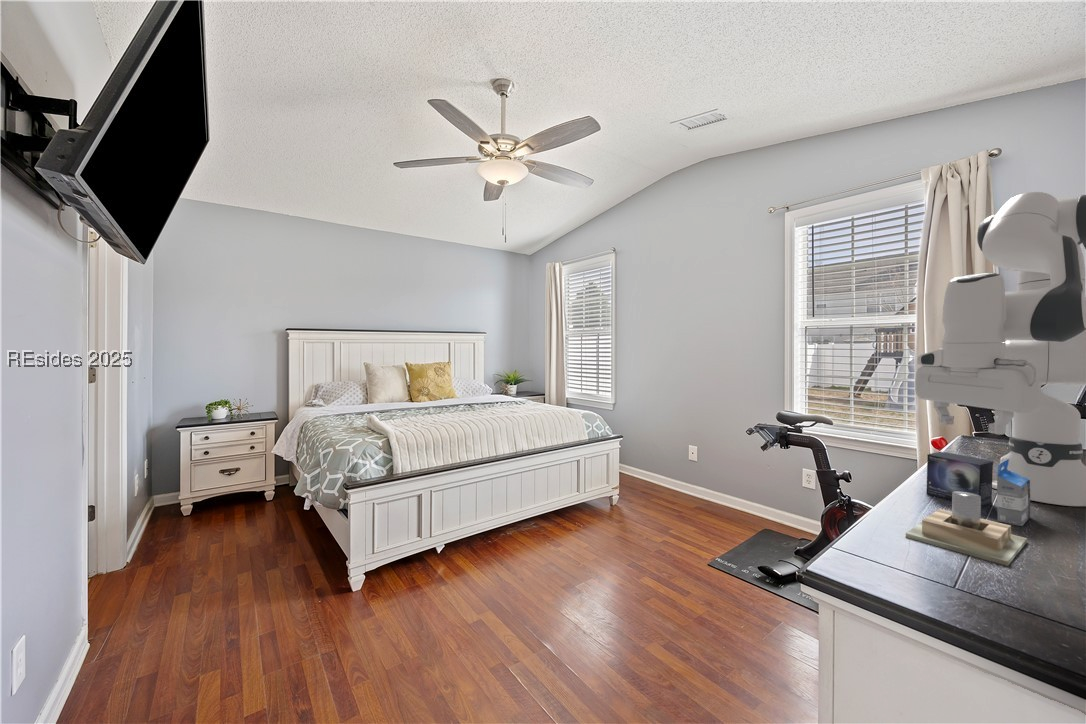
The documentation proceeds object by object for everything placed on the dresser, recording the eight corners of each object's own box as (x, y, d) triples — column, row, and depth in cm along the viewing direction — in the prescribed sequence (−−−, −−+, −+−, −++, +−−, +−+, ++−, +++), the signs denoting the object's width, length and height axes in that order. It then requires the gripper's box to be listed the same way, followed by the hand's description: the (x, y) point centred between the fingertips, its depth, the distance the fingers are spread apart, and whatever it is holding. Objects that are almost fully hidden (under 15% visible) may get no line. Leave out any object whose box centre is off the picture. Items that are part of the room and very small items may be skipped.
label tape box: (1022, 527, 91) (1024, 468, 91) (994, 520, 94) (996, 464, 94) (1031, 517, 96) (1033, 462, 96) (1004, 512, 99) (1006, 458, 99)
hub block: (932, 518, 96) (932, 503, 96) (1026, 542, 84) (1027, 525, 84) (905, 536, 87) (906, 520, 87) (1007, 566, 75) (1008, 547, 75)
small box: (924, 494, 111) (925, 453, 111) (938, 490, 114) (939, 450, 114) (978, 508, 102) (980, 463, 101) (993, 504, 104) (994, 460, 104)
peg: (964, 530, 88) (965, 491, 87) (985, 539, 84) (987, 497, 83) (945, 531, 87) (946, 491, 87) (966, 540, 83) (967, 498, 83)
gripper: (1053, 359, 75) (1050, 440, 76) (936, 355, 95) (935, 419, 96) (1019, 360, 74) (1016, 441, 75) (909, 356, 95) (908, 420, 96)
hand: (970, 428), depth 86 cm, fingers open, 8 cm apart
